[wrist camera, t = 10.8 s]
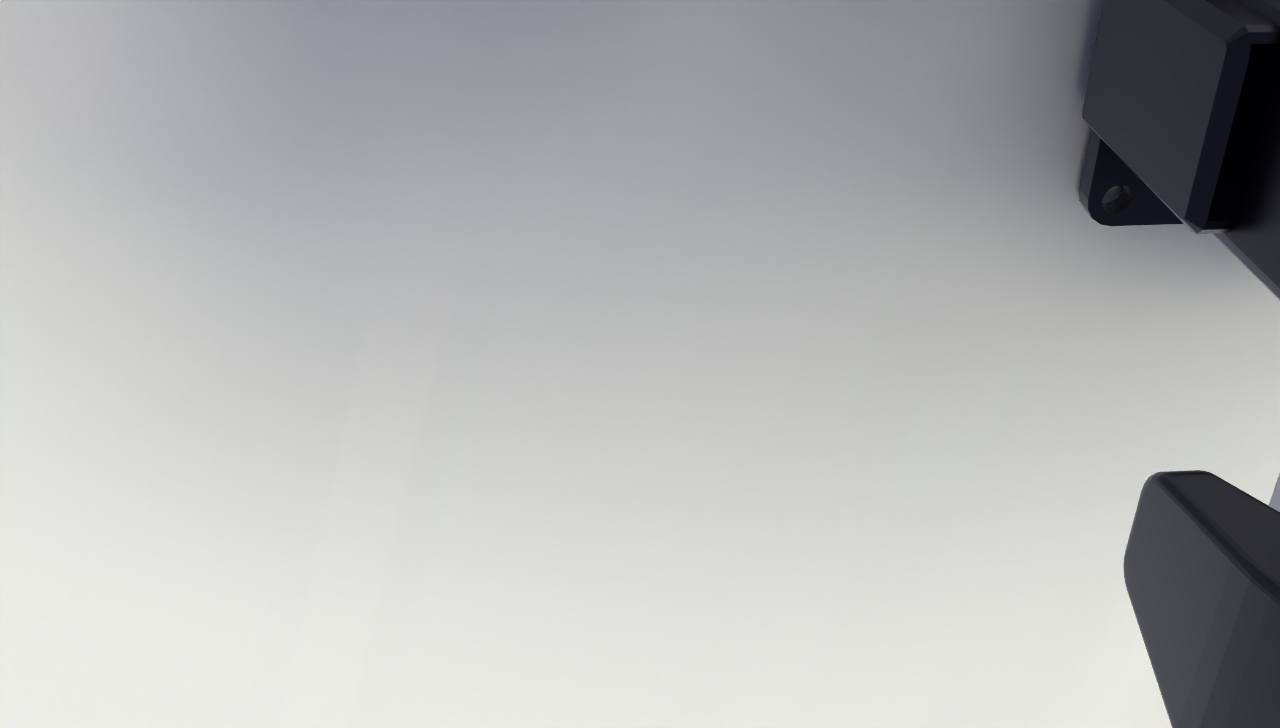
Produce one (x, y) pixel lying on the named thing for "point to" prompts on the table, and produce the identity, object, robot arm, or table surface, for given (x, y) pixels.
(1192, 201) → the robot arm
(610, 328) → the table surface
